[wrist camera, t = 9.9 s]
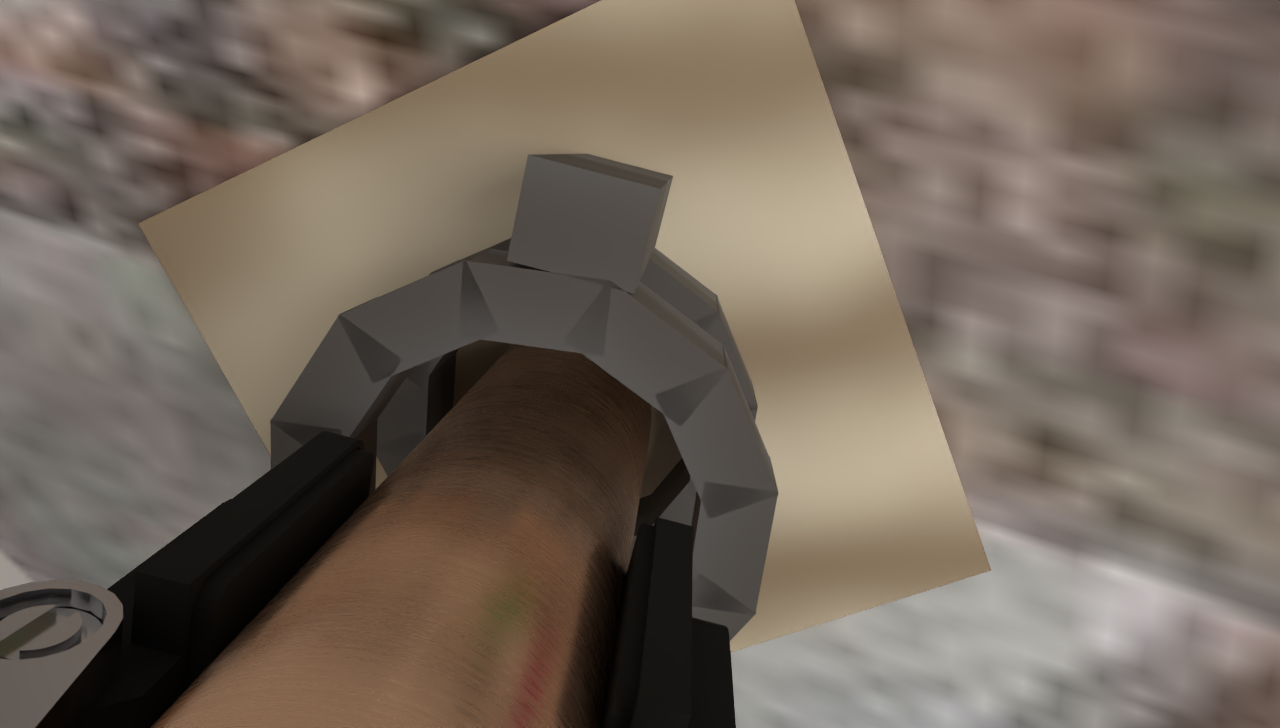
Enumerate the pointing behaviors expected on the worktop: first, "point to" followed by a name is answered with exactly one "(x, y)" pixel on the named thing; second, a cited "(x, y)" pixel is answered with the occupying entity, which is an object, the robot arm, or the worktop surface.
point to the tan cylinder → (459, 573)
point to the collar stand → (608, 294)
